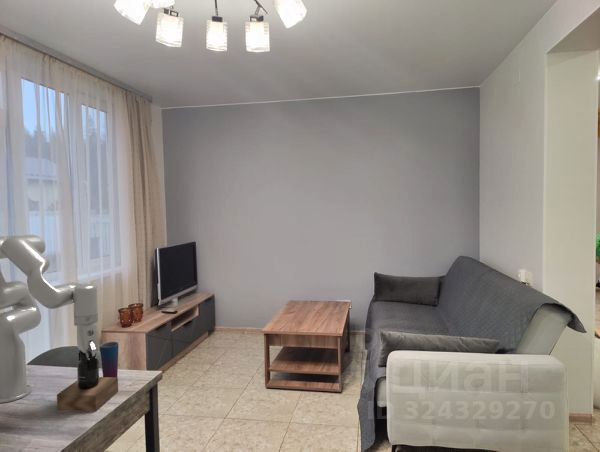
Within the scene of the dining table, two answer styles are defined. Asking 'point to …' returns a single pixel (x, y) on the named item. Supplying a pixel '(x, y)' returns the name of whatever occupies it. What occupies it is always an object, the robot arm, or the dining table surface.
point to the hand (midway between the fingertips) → (87, 365)
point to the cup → (109, 359)
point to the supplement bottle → (86, 374)
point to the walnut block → (87, 395)
